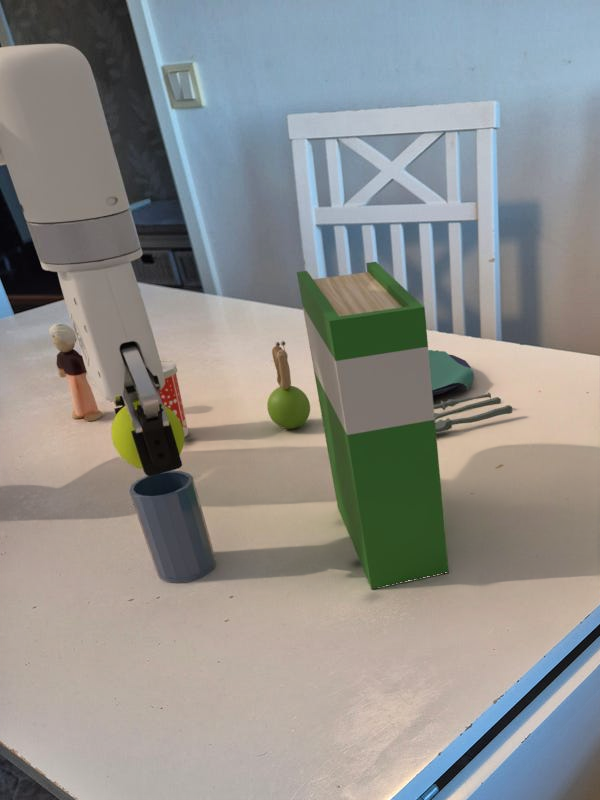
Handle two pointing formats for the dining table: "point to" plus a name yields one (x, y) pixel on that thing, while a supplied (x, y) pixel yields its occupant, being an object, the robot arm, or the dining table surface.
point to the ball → (125, 439)
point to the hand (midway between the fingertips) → (154, 456)
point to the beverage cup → (172, 392)
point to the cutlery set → (450, 375)
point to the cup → (173, 526)
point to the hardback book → (378, 420)
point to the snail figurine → (286, 395)
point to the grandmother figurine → (74, 373)
